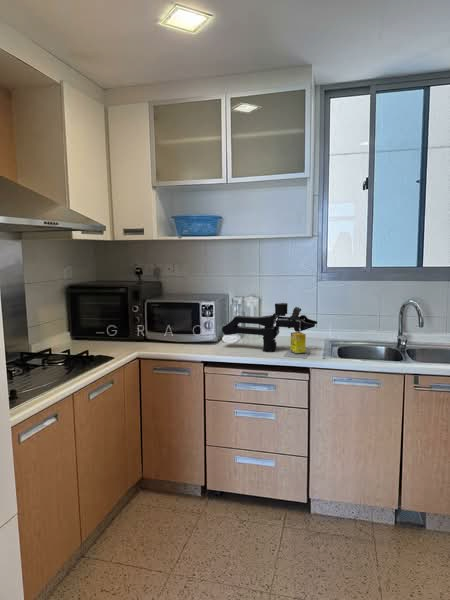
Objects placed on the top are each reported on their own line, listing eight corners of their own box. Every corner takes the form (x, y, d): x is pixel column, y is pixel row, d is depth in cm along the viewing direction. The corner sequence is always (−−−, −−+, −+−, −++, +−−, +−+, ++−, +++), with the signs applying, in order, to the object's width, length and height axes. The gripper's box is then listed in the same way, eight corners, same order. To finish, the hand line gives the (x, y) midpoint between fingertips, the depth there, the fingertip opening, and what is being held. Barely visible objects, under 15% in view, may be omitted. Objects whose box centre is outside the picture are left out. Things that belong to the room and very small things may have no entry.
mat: (283, 356, 216) (283, 356, 216) (287, 351, 227) (287, 350, 227) (306, 358, 211) (306, 358, 211) (309, 352, 223) (309, 352, 222)
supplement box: (290, 352, 224) (290, 332, 222) (299, 351, 226) (300, 331, 224) (295, 354, 218) (296, 334, 217) (305, 353, 220) (305, 333, 219)
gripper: (283, 310, 213) (314, 311, 208) (290, 305, 231) (319, 306, 225) (283, 331, 215) (313, 333, 209) (290, 324, 232) (318, 326, 227)
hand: (316, 324), depth 217 cm, fingers open, 9 cm apart
